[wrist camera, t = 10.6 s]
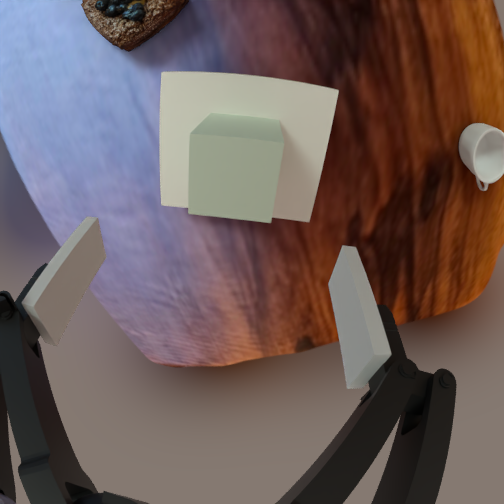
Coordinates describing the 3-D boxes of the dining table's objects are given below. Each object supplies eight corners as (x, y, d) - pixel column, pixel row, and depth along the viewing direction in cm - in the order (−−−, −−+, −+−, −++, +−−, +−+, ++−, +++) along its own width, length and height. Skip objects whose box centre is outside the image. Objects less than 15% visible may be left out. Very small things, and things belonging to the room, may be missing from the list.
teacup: (450, 118, 28) (472, 129, 24) (488, 116, 27) (510, 127, 23) (451, 183, 34) (470, 201, 30) (487, 177, 33) (506, 193, 28)
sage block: (210, 112, 27) (189, 133, 20) (279, 119, 27) (284, 143, 20) (207, 173, 31) (188, 213, 24) (269, 180, 32) (270, 223, 24)
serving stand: (174, 70, 28) (161, 72, 24) (329, 86, 28) (338, 90, 25) (171, 189, 37) (161, 205, 34) (305, 204, 38) (309, 222, 35)
